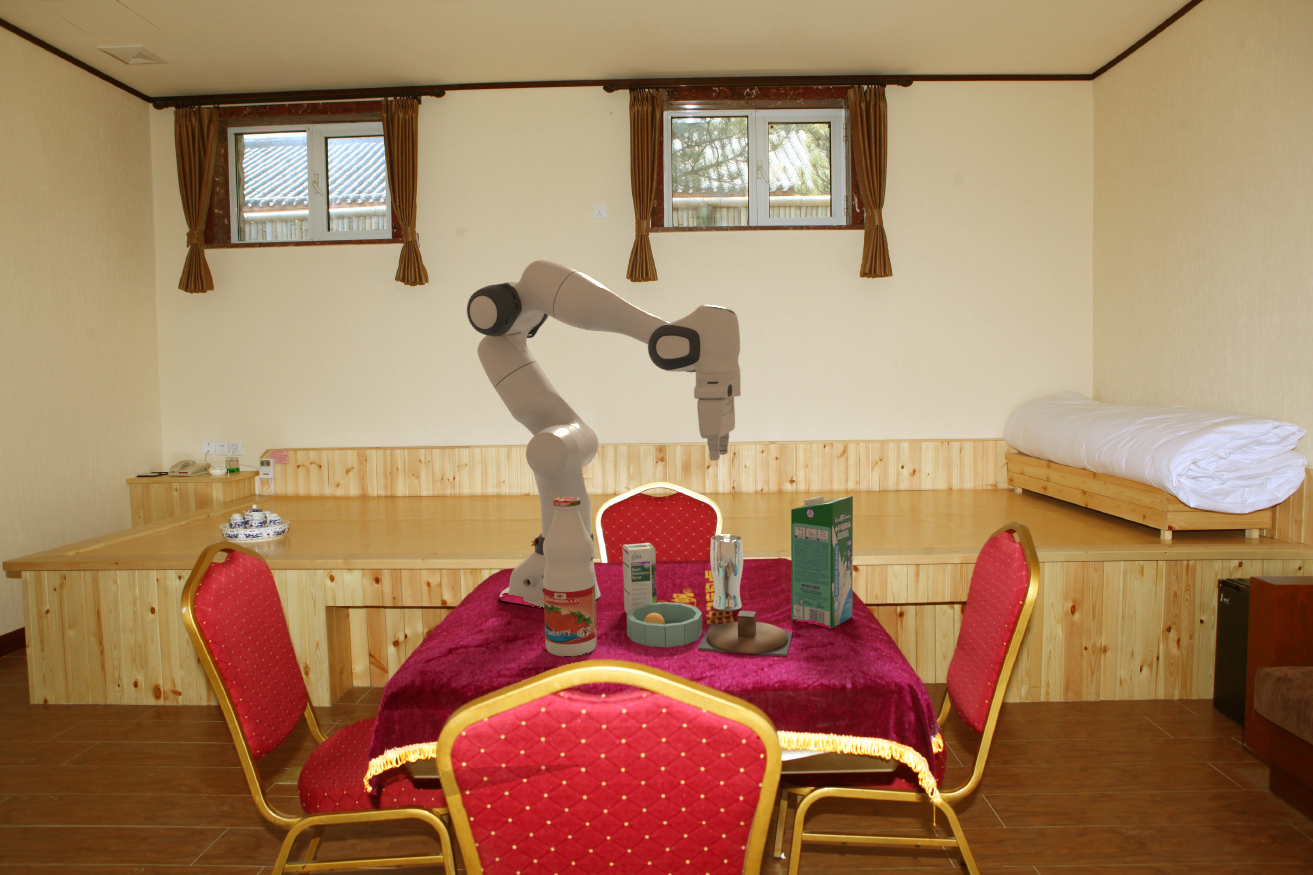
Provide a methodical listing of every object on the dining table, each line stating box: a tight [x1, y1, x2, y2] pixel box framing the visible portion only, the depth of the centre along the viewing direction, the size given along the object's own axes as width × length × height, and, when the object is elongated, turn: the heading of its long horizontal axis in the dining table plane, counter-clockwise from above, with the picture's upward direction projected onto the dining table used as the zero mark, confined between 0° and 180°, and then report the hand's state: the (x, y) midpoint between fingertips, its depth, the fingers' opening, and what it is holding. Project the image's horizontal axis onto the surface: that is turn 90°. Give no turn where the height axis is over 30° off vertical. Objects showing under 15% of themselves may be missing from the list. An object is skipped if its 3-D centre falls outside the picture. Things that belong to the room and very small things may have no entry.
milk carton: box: [790, 495, 854, 628], centre depth 158 cm, size 9×9×25 cm
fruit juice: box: [543, 496, 598, 657], centre depth 144 cm, size 9×9×28 cm
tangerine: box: [644, 613, 665, 624], centre depth 151 cm, size 4×4×4 cm
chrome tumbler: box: [709, 533, 744, 612], centre depth 168 cm, size 7×7×15 cm
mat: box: [697, 624, 793, 658], centre depth 148 cm, size 16×13×1 cm
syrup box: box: [622, 542, 658, 615], centre depth 164 cm, size 6×6×14 cm
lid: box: [706, 610, 788, 654], centre depth 148 cm, size 15×15×5 cm
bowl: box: [626, 601, 703, 648], centre depth 152 cm, size 14×14×4 cm
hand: (718, 457), depth 158 cm, fingers open, 8 cm apart
